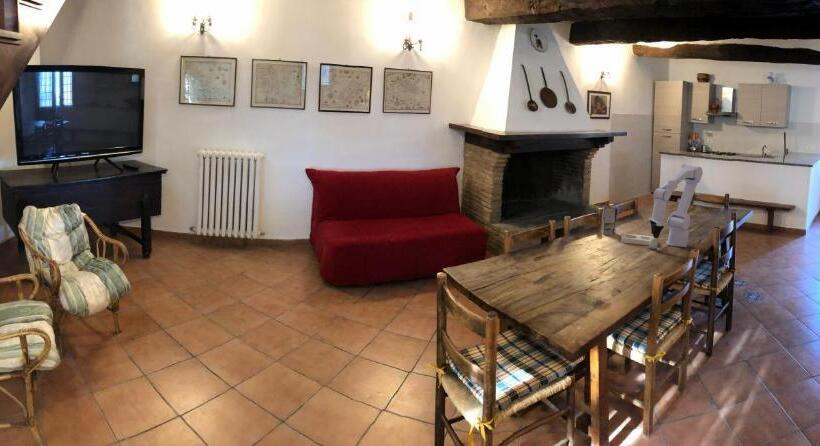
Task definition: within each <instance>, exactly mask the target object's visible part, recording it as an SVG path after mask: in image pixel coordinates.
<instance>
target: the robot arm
mask: <svg viewBox="0 0 820 446" xmlns="http://www.w3.org/2000/svg"><path fill="white" fill-rule="evenodd" d="M703 174H704V173H703V168H702V167H701V166H696V165H690V164H682V165H681V166H680V167H679V169H678V173H677V174H676V175H675V176H674V177H673V178H672V179H669V180H667V181H666V182H665V183H664V184H662V186H660V187H658V188H655V190H654V191H653V194H652V197H653V209H652V214H651V217H649V218H648V220H649V223H650V229H651V230H650V231H651V235H652V236H653V237H654V238H658V239H659V237H660V234H661V232H662V231H663V229H664V227H665V226H664V225H662V224H663V223H664V222H665V219H664V218H665V215H666V214H665V213H666V208H667V202H668V201H669V199H670V198H671V196H672V193H674V191H675V190H677V188H678V186H679V184H680V183H681V182H683V181H685V185H684V189H683V190H682V194H681V198H680V200H679V203H678V206H677V209H676V210H675V211H673V212H671V214H670V215H669V216H668V218H667V220H666V221H667V222H666V224H667V226H668V228H669V233H668V238H667V240H665V242H666V244H667V245H668V246H673V247H674V246H675V247H679V248H680V247H681V248H682V247H683V248H687V247H688V241H689V235H690V232H689V230H688V228H689V227H690V224H691V222H690V221H691V217H690V215H689V214H688V211H689V207H690V205H691V202H692V199H693V196H694V194H695V191H696V189H697V186H698V184H700V182H701V179H702V177H703Z"/></svg>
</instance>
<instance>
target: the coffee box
mask: <svg viewBox="0 0 820 446" xmlns="http://www.w3.org/2000/svg"><path fill="white" fill-rule="evenodd" d="M602 209H603V211H602V216H601V217H602V218H601V224H600V232H601V234H602V235H604V236H611V237H613V236H615V230H616V229H615V228H616V221H617V216H618V210H619V209H618V208H617V206H615V205H610V204H609V205H608V204H605V205H603V208H602Z"/></svg>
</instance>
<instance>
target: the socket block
mask: <svg viewBox="0 0 820 446" xmlns="http://www.w3.org/2000/svg"><path fill="white" fill-rule="evenodd" d="M651 237H653V235H652V236H651V235H644V234H642V235H641V234H635V233H634V234H633V233H625V232H621V233H620V241H621V243H623V244H624V243H626V244H632V245H642V246H649V242H650V238H651ZM653 238H654V237H653Z"/></svg>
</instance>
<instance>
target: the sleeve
mask: <svg viewBox="0 0 820 446" xmlns="http://www.w3.org/2000/svg"><path fill="white" fill-rule="evenodd" d="M658 245H659V237H658V238H653V237H651V238H650V242H649V245H648V250H650V251H657V250H658Z"/></svg>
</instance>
